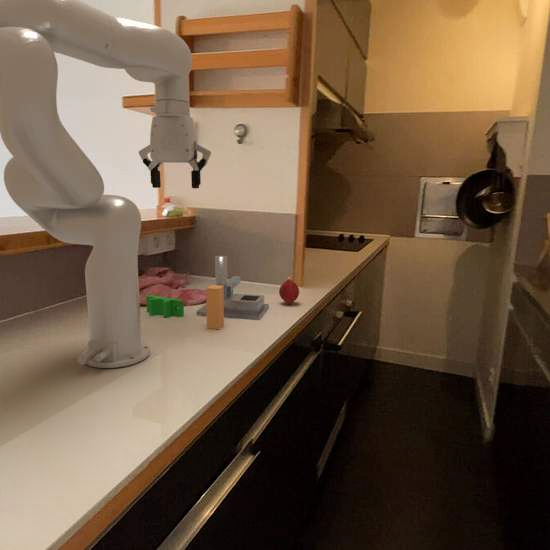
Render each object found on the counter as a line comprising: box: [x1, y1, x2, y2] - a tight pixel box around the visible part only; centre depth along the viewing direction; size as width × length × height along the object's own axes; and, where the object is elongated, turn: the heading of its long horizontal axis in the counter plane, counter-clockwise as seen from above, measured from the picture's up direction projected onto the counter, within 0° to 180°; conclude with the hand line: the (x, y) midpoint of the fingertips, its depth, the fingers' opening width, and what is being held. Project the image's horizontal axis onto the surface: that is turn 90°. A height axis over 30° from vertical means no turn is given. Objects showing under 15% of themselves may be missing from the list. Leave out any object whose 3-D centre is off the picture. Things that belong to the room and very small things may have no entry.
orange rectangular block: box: [205, 284, 225, 331], centre depth 103 cm, size 3×3×10 cm
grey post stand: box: [195, 255, 270, 321], centre depth 121 cm, size 22×17×15 cm
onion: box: [278, 276, 300, 305], centre depth 125 cm, size 6×6×8 cm
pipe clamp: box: [145, 294, 185, 319], centre depth 113 cm, size 11×4×5 cm, turn 67°
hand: (175, 187), depth 102 cm, fingers open, 9 cm apart
